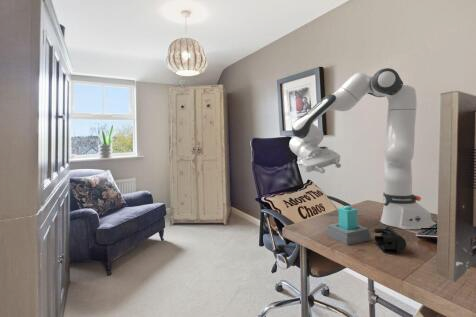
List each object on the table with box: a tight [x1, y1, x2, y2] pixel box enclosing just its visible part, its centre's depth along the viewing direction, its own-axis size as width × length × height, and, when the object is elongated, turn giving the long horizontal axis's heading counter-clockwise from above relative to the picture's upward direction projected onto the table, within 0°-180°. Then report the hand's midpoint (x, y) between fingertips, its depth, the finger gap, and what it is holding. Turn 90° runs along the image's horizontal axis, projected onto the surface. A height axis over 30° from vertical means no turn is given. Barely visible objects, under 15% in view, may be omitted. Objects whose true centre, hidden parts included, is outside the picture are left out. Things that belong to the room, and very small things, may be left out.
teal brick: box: [337, 205, 358, 231], centre depth 108 cm, size 5×5×10 cm
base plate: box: [325, 222, 372, 246], centre depth 108 cm, size 12×12×4 cm
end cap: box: [374, 226, 407, 255], centre depth 96 cm, size 10×7×7 cm
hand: (331, 169), depth 119 cm, fingers open, 8 cm apart
